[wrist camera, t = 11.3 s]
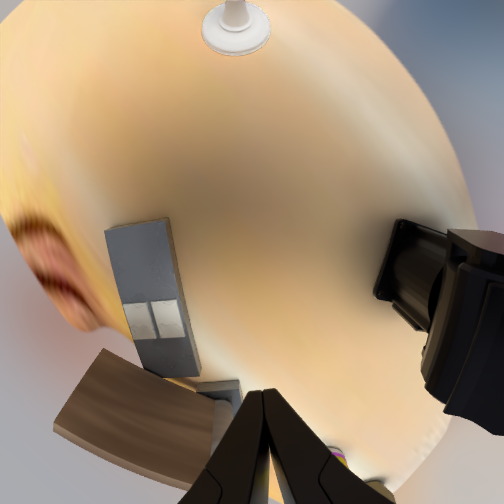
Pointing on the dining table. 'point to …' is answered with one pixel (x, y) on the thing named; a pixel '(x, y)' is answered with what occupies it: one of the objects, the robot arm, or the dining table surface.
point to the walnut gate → (143, 421)
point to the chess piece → (236, 28)
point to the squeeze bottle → (382, 489)
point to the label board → (159, 305)
